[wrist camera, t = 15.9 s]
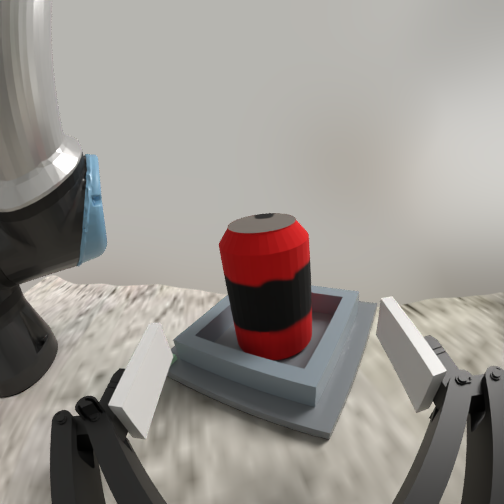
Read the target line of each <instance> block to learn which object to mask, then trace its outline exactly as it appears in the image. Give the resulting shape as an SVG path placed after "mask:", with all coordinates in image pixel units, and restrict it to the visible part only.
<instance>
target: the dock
mask: <svg viewBox="0 0 504 504" xmlns="http://www.w3.org/2000/svg"><path fill="white" fill-rule="evenodd" d="M311 299H312V337H311V340H310V342H309V343H308V345H307V346H306V347H305V348H304V349H303V350H302V351H300V352H299V353H297V354H296V355H294V356H291V357H289V358H286V359H282V360H275V361H272V360H269V359H265V358H262V357H258V356H255V355H252V354H248V353H245V352H244V351H243V350H242V349H241V348H240V346H239V345H238V341H237V336H236V331H235V327H234V322H233V317H232V312H231V307H230V302H229V297H228V295H227V296H226V297H224V298H223V299H222V300H221V301H220V302H218V303H217V304H216V305H215V306H214V307H212V308H211V309H210V310H209V311H208V312H206V313H205V314H204V315H203V316H202V317H200V318H199V319H198V320H197V321H195V322H194V323H193V324H192V325H191V326H189V327H188V328H187V329H186V330H185V331H183V332H182V333H181V334H180V335H178V336H177V337H176V338H175V339H174V340H173V341H174V344H175V346H174V347H173V348H172V349H171V352H172V354H173V359H172V362H171V365H170V367H169V370H168V373H167V376H168V377H170V378H172V379H174V380H176V381H178V382H180V383H182V384H184V385H186V386H188V387H190V388H192V389H194V390H196V391H198V392H200V393H202V394H204V395H206V396H208V397H210V398H213V399H215V400H217V401H219V402H222V403H224V404H226V405H228V406H231V407H233V408H236V409H238V410H241V411H243V412H246V413H248V414H251V415H253V416H256V417H259V418H261V419H264V420H267V421H270V422H272V423H275V424H278V425H281V426H284V427H287V428H290V429H294V430H297V431H300V432H303V433H307V434H310V435H314V436H318V437H321V438H325V439H330V437H331V435H332V433H333V431H334V428H335V426H336V424H337V422H338V419H339V417H340V415H341V412H342V410H343V408H344V405H345V403H346V400H347V398H348V395H349V393H350V390H351V388H352V385H353V382H354V380H355V377H356V374H357V371H358V368H359V365H360V363H361V360H362V357H363V354H364V351H365V347H366V344H367V341H368V338H369V334H370V331H371V328H372V324H373V321H374V317H375V313H376V308H377V303H369V302H361V301H359V292H358V291H350V290H342V289H333V288H326V287H318V286H311Z"/></svg>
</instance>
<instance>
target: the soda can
mask: <svg viewBox="0 0 504 504" xmlns="http://www.w3.org/2000/svg"><path fill="white" fill-rule="evenodd" d="M219 248H220V254H221V260H222V265H223V270H224V275H225V281H226V286H227V291H228V297H229V302H230V307H231V312H232V317H233V322H234V327H235V331H236V336H237V341H238V345H239V346H240V348H241V349H242V350H243V351H244V352H245V353H248V354H252V355H255V356H258V357H262V358H265V359H269V360H272V361H275V360H282V359H286V358H289V357H291V356H294V355H296V354H297V353H299V352H300V351H302V350H303V349H304V348H305V347H306V346H307V345H308V343H309V342H310V340H311V337H312V299H311V272H310V251H309V235H308V233H307V231H306V230H305V229H304V228H303V227H302V226H301V225H300V224H299V223H298V222H297V221H296V219H295V217H293V216H291V215H287V214H279V213H272V214H271V213H269V214H259V215H252V216H248V217H244V218H241V219H238V220H236V221H233V222H232V223H230V224H229V225H228V228H227V230H226V232H225V234H224V235H223V237H222V239H221V241H220V243H219Z"/></svg>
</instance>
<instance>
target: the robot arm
mask: <svg viewBox="0 0 504 504" xmlns="http://www.w3.org/2000/svg"><path fill="white" fill-rule="evenodd" d="M51 13H52V0H0V397H4V396H10V395H14V394H17V393H19V392H21V391H23V390H25V389H27V388H28V387H30V386H31V385H32V384H34V383H35V382H36V381H37V380H38V379H40V378H41V377H42V376H43V375H44V373H45V372H46V371H47V370H48V369H49V367H50V366H51V364H52V363H53V361H54V359H55V356H56V354H57V350H58V343H57V340H56V338H55V336H54V334H53V332H52V330H51V328H50V327H49V326H48V324H47V323H46V322H45V321H44V320H43V319H42V318H41V317H40V315H39V314H38V313H37V312H36V311H35V310H34V309H33V307H32V306H31V305H30V304H29V303H28V301H27V300H26V299H25V297H24V295H23V293H22V291H21V288H20V286H19V284H22V283H25V282H28V281H31V280H34V279H37V278H39V277H43V276H46V275H49V274H52V273H56V272H59V271H62V270H65V269H68V268H72V267H75V266H80V265H81V264H82V263H84V262H86V261H89V260H91V259H94V258H96V257H99V256H100V255H102V254H103V252H104V251H105V249H106V246H107V238H106V230H105V222H104V214H103V207H102V200H101V187H100V176H99V165H98V158H97V156H96V155H90V154H86V155H85V156H83V152H82V148H81V145H80V143H79V141H78V140H77V139H76V138H74V137H72V136H69V135H67V134H64V133H63V129H62V125H61V119H60V114H59V108H58V101H57V95H56V88H55V79H54V69H53V57H52V36H51V35H52V33H51V17H52V14H51ZM376 336H377V337H378V339H379V341H380V343H381V345H382V346H383V348H384V350H385V352H386V354H387V356H388V358H389V359H390V361H391V363H392V365H393V367H394V369H395V371H396V373H397V375H398V377H399V379H400V381H401V382H402V384H403V386H404V388H405V390H406V392H407V394H408V397H409V399H410V401H411V403H412V405H413V407H414V409H415V411H416V413H417V412H420V411H423V410H426V409H428V408H429V407H430V405H431V404H432V402H434V404H435V406H436V407H435V409H434V410H433V412H432V414H431V416H430V417H429V418H430V419H431V420H430V423H429V425H428V428H427V431H426V434H425V436H424V439H423V441H422V444H421V446H420V449H419V451H418V453H417V456H416V458H415V460H414V462H413V465H412V467H411V469H410V471H409V473H408V475H407V477H406V479H405V481H404V483H403V485H402V487H401V489H400V491H399V492H398V494H397V496H396V498H395V499H394V501H393V503H392V504H439V502H440V500H441V497H442V495H443V493H444V490H445V488H446V486H447V483H448V480H449V478H450V475H451V472H452V470H453V467H454V464H455V461H456V458H457V454H458V451H459V448H460V444H461V441H462V437H463V433H464V429H465V425H466V421H467V452H466V468H465V479H464V487H463V495H462V501H461V504H504V371H503V370H502V369H501V368H500V367H498V366H491V367H489V368H487V370H486V372H485V374H482V375H471V374H470V373H469V372H468V371H465V370H459V369H458V367H457V366H456V365H455V363H454V362H453V360H452V359H451V358H450V356H449V355H448V354H447V352H445V350H444V348H443V347H442V346H441V344H440V343H439V342H438V340H437V339H435V338H434V337H432V336H431V335H429V336H425V337H423V336H422V335H421V333H420V332H419V331H418V329H417V328H416V327H415V325H414V324H413V323H412V321H411V320H410V319H409V317H408V316H407V315H406V313H405V312H404V311H403V310H402V308H401V307H400V306H399V305H398V303H397V302H396V301H395V300H394V298H393V297H392V296H391V297H386V298H381V303H380V310H379V318H378V325H377V332H376ZM172 359H173V354H172V352H171V349H170V347H169V344H168V341H167V339H166V336H165V333H164V330H163V328H162V325H161V323H149V325H148V327H147V329H146V331H145V332H144V334H143V336H142V338H141V340H140V342H139V344H138V346H137V348H136V350H135V351H134V353H133V355H132V357H131V359H130V361H129V363H128V365H127V367H126V369H119V370H118V371H117V372H116V373H115V374H114V375H113V376H112V378H111V380H110V383H109V384H108V386H107V388H106V390H105V392H104V394H103V396H102V398H101V400H100V402H98V400H97V399H96V398H95V397H93V396H86V397H83V398H81V399H80V400H79V401H78V402H77V404H76V406H75V410H76V412H77V413H78V414H79V415H80V416H72V415H71V413H70V412H69V411H67V410H62V411H59V412H57V413H56V414H55V415H54V417H53V419H52V428H51V446H50V482H51V498H52V504H106V503H105V499H104V493H103V488H102V482H101V476H100V469H99V465H100V467H101V470H102V472H103V474H104V477H105V479H106V481H107V483H108V485H109V488H110V490H111V492H112V494H113V496H114V498H115V500H116V502H117V504H167V503H166V502H165V500H164V499H163V497H162V496H161V495H160V493H159V492H158V490H157V489H156V487H155V485H154V484H153V482H152V481H151V479H150V478H149V476H148V474H147V473H146V471H145V469H144V468H143V466H142V464H141V462H140V461H139V459H138V457H137V455H136V453H135V452H134V450H133V448H132V446H131V444H130V442H129V440H128V439H127V438H126V435H127V433H128V432H129V433H130V435H131V436H132V437H133V438H140V439H146V437H147V434H148V431H149V428H150V425H151V421H152V418H153V415H154V412H155V409H156V406H157V403H158V400H159V397H160V394H161V391H162V388H163V385H164V382H165V379H166V376H167V373H168V370H169V367H170V365H171V362H172Z"/></svg>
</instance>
